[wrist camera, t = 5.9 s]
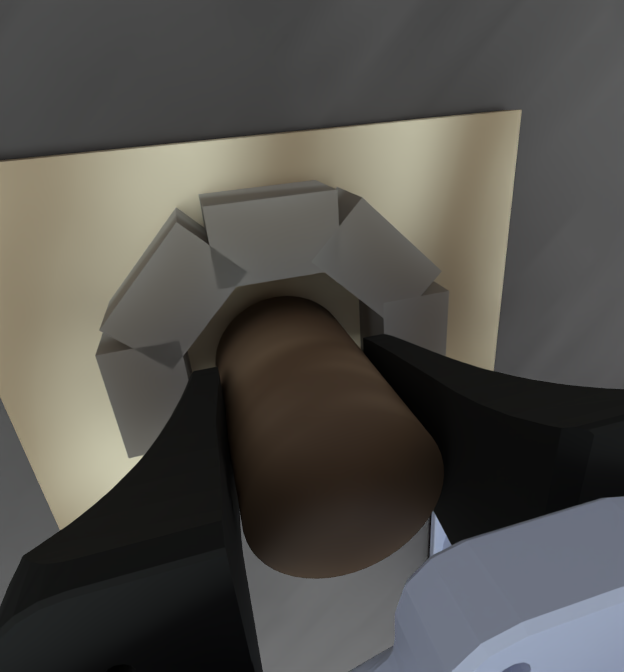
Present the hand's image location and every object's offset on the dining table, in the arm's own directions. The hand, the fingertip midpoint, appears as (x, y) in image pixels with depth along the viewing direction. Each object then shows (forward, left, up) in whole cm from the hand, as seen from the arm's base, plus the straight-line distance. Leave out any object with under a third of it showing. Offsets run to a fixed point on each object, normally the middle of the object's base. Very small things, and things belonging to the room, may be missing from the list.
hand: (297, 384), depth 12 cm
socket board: (0, 0, -3) cm, 3 cm away
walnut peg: (0, 0, -2) cm, 2 cm away
